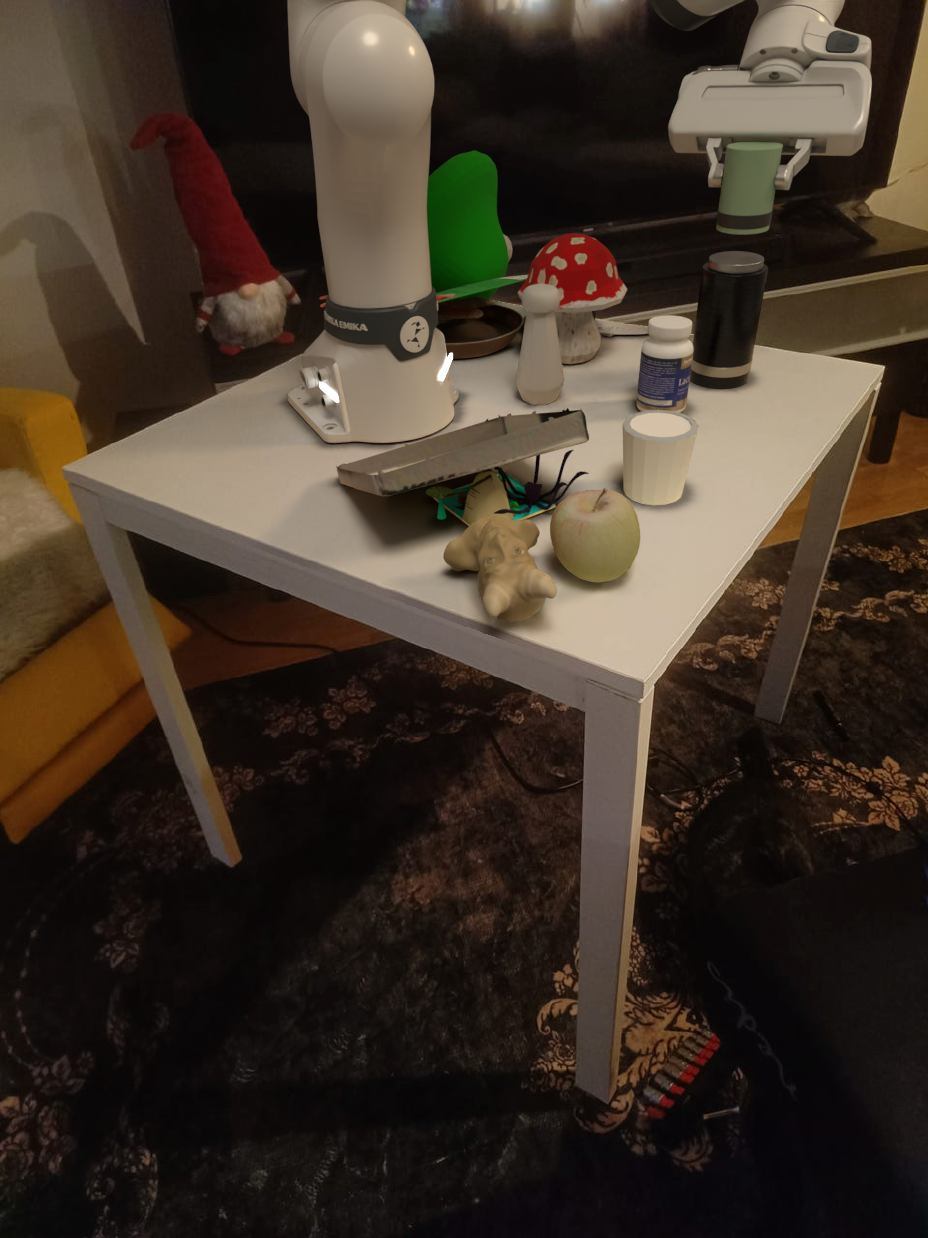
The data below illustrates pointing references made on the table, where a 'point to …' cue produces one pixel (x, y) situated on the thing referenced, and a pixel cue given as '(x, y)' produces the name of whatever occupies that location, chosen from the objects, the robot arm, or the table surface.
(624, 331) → the pocket knife
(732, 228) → the green cylinder
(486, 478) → the diorama
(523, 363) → the salt shaker
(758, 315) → the flask
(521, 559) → the beige knobby lump
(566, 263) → the decorative mushroom
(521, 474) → the table surface
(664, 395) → the pill bottle
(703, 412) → the table surface
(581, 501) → the fruit
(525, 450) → the decorative tile
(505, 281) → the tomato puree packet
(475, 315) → the stone tool
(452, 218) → the toy
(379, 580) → the table surface
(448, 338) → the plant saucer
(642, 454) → the white cup
